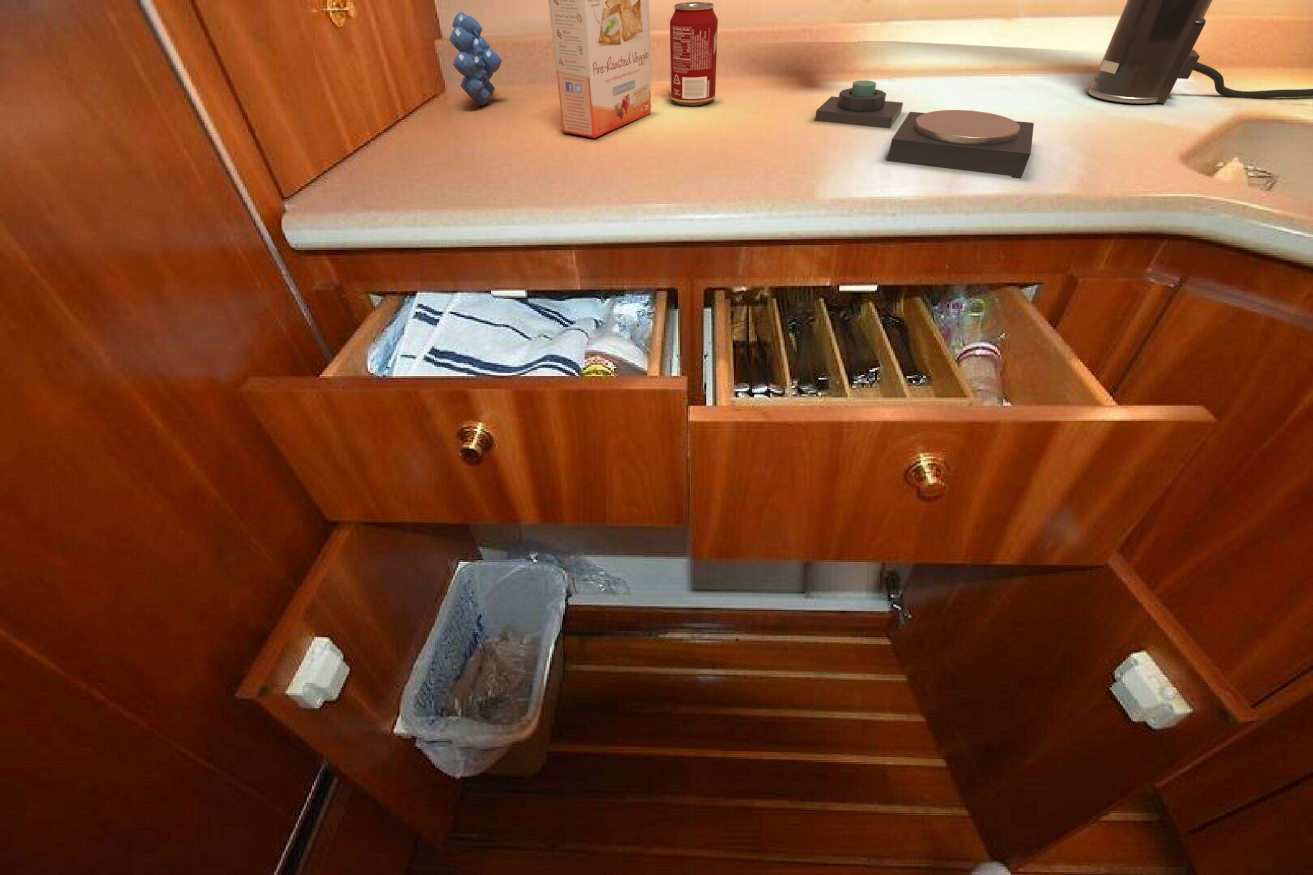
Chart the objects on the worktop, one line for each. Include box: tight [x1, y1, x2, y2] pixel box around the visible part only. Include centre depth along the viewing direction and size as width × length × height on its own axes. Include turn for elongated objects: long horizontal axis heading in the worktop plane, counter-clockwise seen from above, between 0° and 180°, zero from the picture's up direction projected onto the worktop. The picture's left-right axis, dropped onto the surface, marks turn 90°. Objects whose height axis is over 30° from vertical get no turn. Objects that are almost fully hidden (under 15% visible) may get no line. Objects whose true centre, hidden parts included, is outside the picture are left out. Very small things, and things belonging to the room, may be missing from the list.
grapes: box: [449, 11, 503, 107], centre depth 87 cm, size 12×7×12 cm, turn 177°
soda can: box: [669, 1, 719, 107], centre depth 85 cm, size 7×7×12 cm
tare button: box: [851, 80, 877, 97], centre depth 78 cm, size 3×3×2 cm
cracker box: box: [548, 0, 652, 139], centre depth 75 cm, size 14×6×21 cm, turn 148°
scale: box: [886, 109, 1035, 179], centre depth 68 cm, size 14×12×3 cm
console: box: [814, 87, 904, 129], centre depth 80 cm, size 10×8×3 cm
